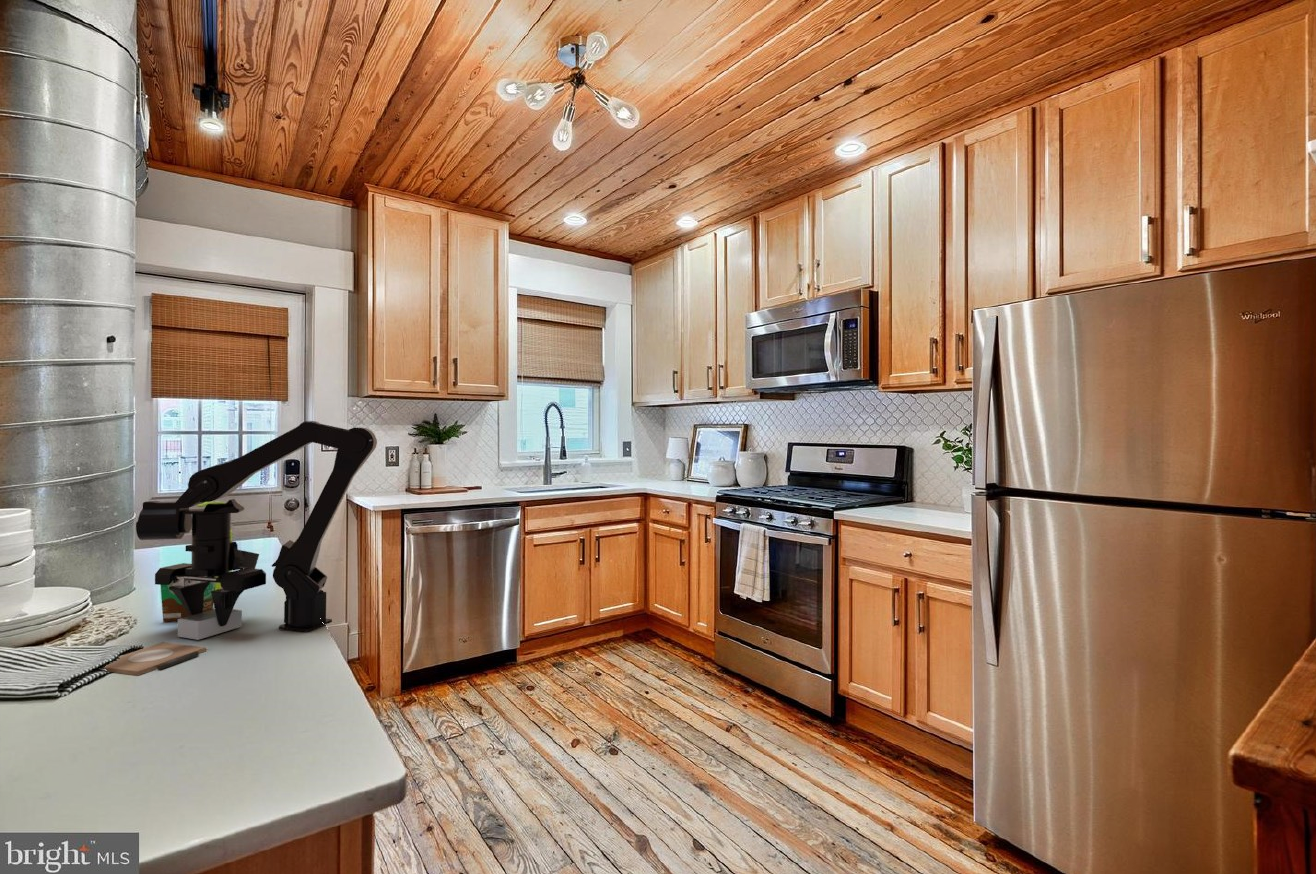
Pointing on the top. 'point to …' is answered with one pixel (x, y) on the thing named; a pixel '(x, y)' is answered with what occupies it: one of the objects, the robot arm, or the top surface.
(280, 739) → the top surface
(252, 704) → the top surface
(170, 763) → the top surface
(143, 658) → the cutting board
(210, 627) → the white rectangular block
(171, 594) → the food container
